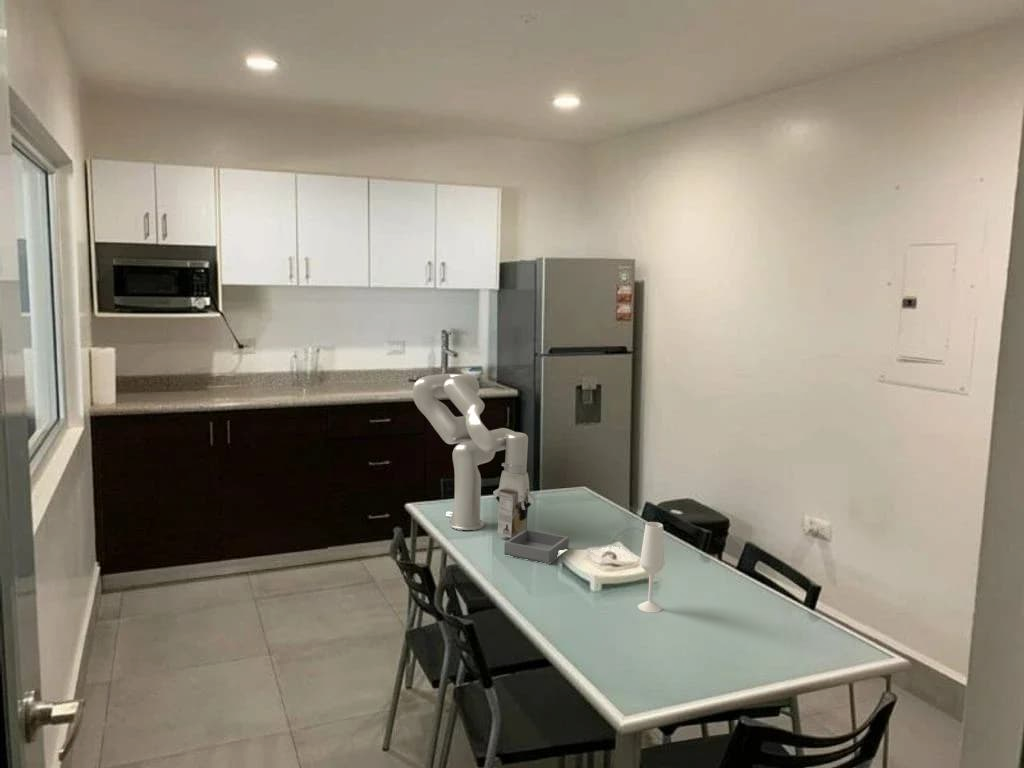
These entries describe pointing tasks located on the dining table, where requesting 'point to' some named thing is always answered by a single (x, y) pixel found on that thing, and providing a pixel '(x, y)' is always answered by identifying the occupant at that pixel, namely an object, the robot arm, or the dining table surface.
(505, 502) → the coffee box
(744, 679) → the dining table surface
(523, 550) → the box
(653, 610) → the champagne flute
